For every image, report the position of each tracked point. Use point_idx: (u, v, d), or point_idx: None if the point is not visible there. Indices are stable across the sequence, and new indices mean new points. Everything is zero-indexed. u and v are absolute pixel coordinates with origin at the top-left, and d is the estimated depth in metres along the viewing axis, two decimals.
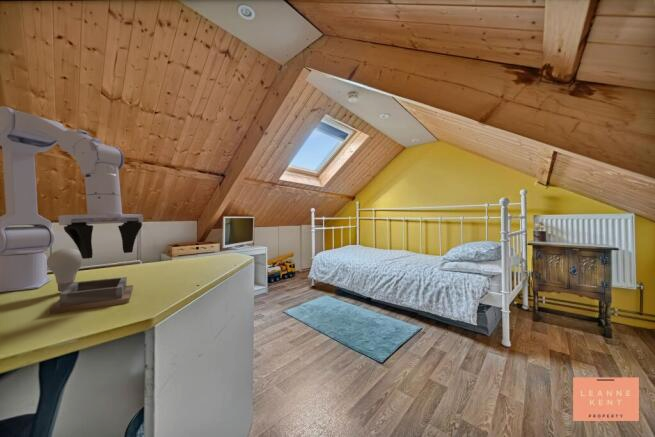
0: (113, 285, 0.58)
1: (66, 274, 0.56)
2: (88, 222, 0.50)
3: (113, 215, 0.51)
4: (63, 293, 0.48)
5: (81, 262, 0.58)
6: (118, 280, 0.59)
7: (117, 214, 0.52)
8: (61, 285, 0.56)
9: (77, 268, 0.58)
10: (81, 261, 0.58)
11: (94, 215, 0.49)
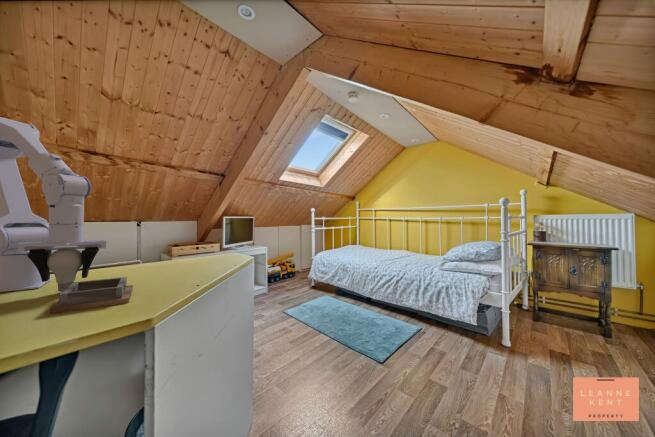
0: (113, 285, 0.58)
1: (66, 274, 0.56)
2: (45, 248, 0.55)
3: (57, 245, 0.54)
4: (63, 293, 0.48)
5: (81, 262, 0.58)
6: (118, 280, 0.59)
7: (61, 244, 0.54)
8: (61, 285, 0.56)
9: (77, 268, 0.58)
10: (81, 261, 0.58)
11: (44, 244, 0.54)
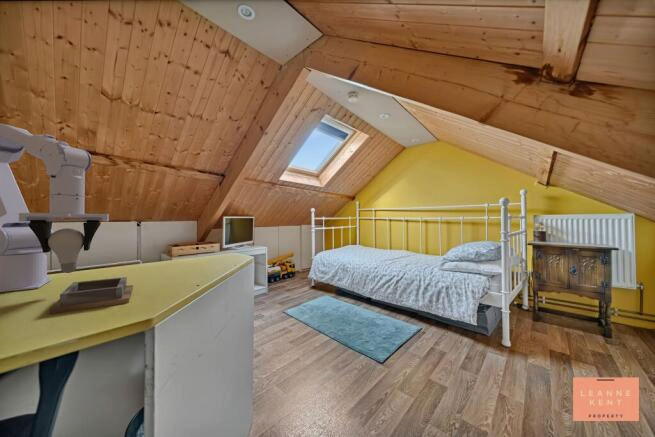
0: (113, 285, 0.58)
1: (68, 254, 0.56)
2: (46, 220, 0.55)
3: (58, 215, 0.53)
4: (63, 293, 0.48)
5: (82, 242, 0.58)
6: (118, 280, 0.59)
7: (62, 215, 0.54)
8: (64, 265, 0.56)
9: (78, 248, 0.57)
10: (82, 241, 0.58)
11: (45, 214, 0.53)
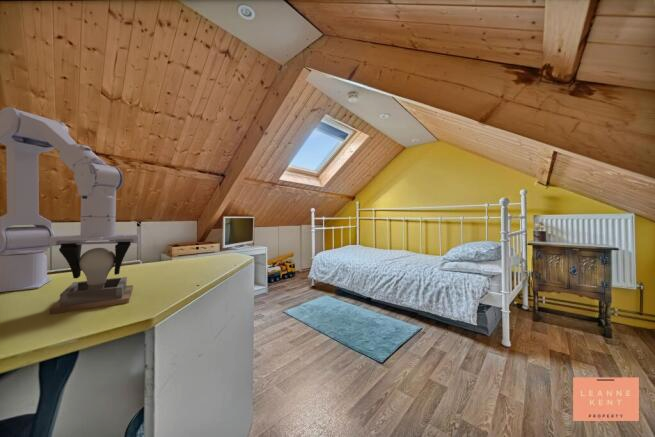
0: (113, 285, 0.58)
1: (99, 275, 0.53)
2: (77, 243, 0.51)
3: (90, 239, 0.50)
4: (63, 293, 0.48)
5: (114, 263, 0.55)
6: (118, 280, 0.59)
7: (95, 238, 0.50)
8: (93, 287, 0.53)
9: (109, 269, 0.54)
10: (114, 262, 0.55)
11: (76, 238, 0.50)
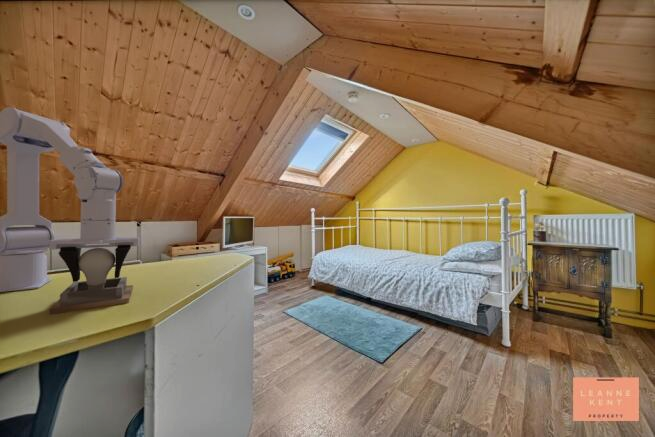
0: (113, 285, 0.58)
1: (98, 275, 0.53)
2: (77, 246, 0.51)
3: (90, 243, 0.50)
4: (63, 293, 0.48)
5: (113, 263, 0.55)
6: (118, 280, 0.59)
7: (94, 242, 0.50)
8: (93, 287, 0.52)
9: (109, 269, 0.54)
10: (113, 262, 0.55)
11: (76, 241, 0.50)
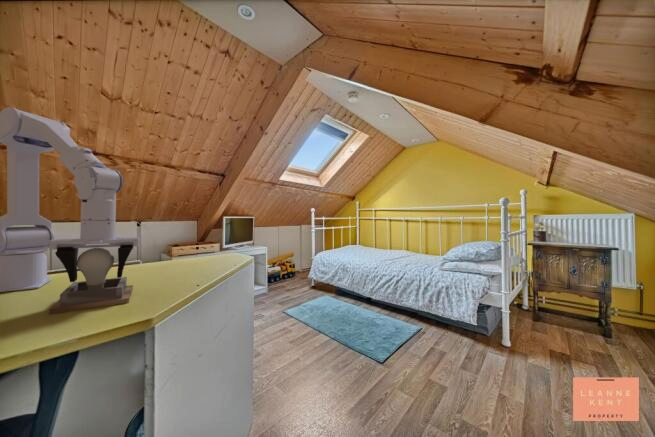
0: (113, 285, 0.58)
1: (98, 275, 0.53)
2: (77, 246, 0.51)
3: (90, 243, 0.50)
4: (63, 293, 0.48)
5: (112, 262, 0.55)
6: (118, 280, 0.59)
7: (94, 242, 0.50)
8: (92, 287, 0.52)
9: (108, 269, 0.54)
10: (112, 261, 0.55)
11: (76, 241, 0.50)
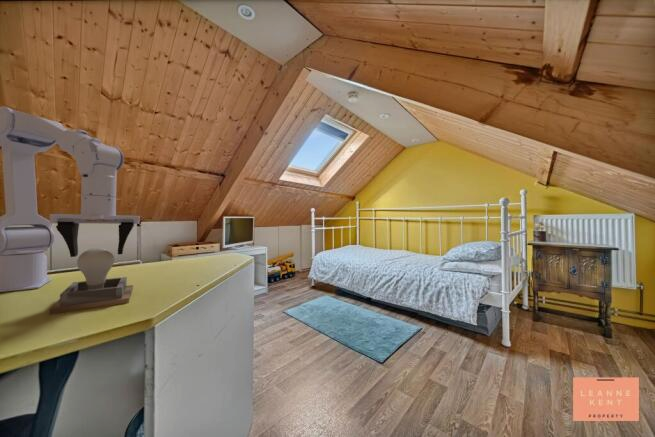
0: (113, 285, 0.58)
1: (98, 276, 0.53)
2: (78, 221, 0.51)
3: (91, 217, 0.50)
4: (63, 293, 0.48)
5: (112, 263, 0.55)
6: (118, 280, 0.59)
7: (95, 217, 0.50)
8: (93, 287, 0.52)
9: (108, 269, 0.54)
10: (112, 262, 0.55)
11: (77, 216, 0.50)
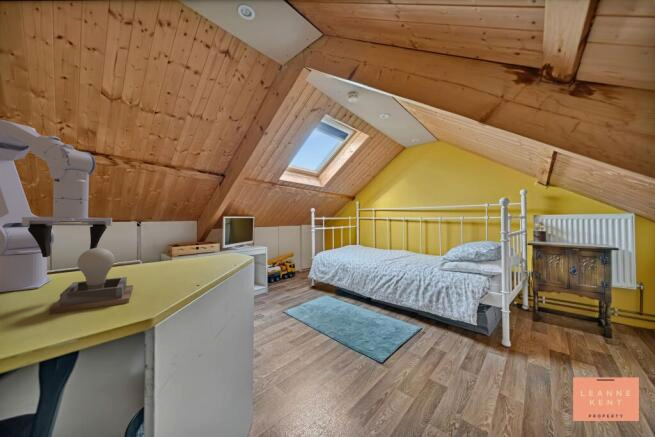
0: (113, 285, 0.58)
1: (98, 276, 0.53)
2: (50, 224, 0.54)
3: (61, 220, 0.53)
4: (63, 293, 0.48)
5: (112, 263, 0.55)
6: (118, 280, 0.59)
7: (66, 219, 0.53)
8: (93, 287, 0.52)
9: (108, 269, 0.54)
10: (113, 262, 0.55)
11: (48, 218, 0.53)
